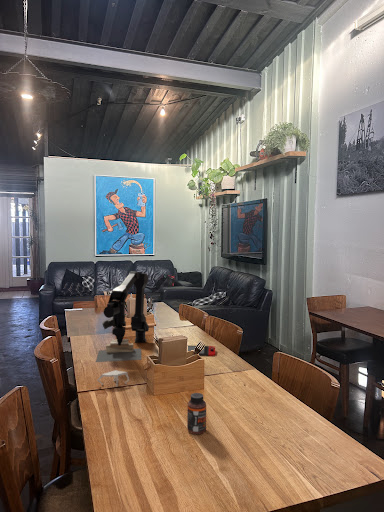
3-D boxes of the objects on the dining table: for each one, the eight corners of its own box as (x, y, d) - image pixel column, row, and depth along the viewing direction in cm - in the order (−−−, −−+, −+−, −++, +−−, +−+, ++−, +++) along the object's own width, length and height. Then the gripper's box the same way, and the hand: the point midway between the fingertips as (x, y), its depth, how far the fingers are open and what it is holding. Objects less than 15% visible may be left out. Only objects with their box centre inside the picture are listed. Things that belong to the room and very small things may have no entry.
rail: (106, 351, 194) (106, 344, 194) (133, 350, 197) (133, 343, 196) (106, 353, 191) (106, 346, 191) (133, 352, 194) (133, 344, 193)
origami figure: (123, 378, 159) (123, 367, 159) (129, 385, 152) (129, 373, 151) (95, 383, 153) (95, 372, 153) (101, 391, 146) (100, 378, 145)
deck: (111, 344, 193) (111, 339, 193) (128, 343, 195) (128, 339, 195) (110, 347, 188) (110, 343, 187) (128, 346, 189) (128, 342, 189)
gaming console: (157, 352, 189) (160, 343, 199) (158, 359, 190) (161, 350, 199) (215, 352, 187) (215, 343, 196) (215, 359, 188) (215, 350, 197)
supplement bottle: (200, 437, 112) (200, 401, 112) (183, 431, 115) (183, 396, 115) (209, 428, 117) (209, 393, 117) (193, 423, 120) (193, 389, 120)
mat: (99, 351, 195) (99, 350, 195) (140, 349, 199) (140, 348, 199) (95, 362, 178) (95, 362, 178) (141, 360, 181) (141, 359, 181)
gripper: (104, 310, 198) (105, 339, 199) (101, 318, 180) (102, 349, 181) (125, 309, 200) (126, 338, 201) (124, 317, 181) (125, 348, 182)
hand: (119, 343), depth 191 cm, fingers closed on deck, 6 cm apart
